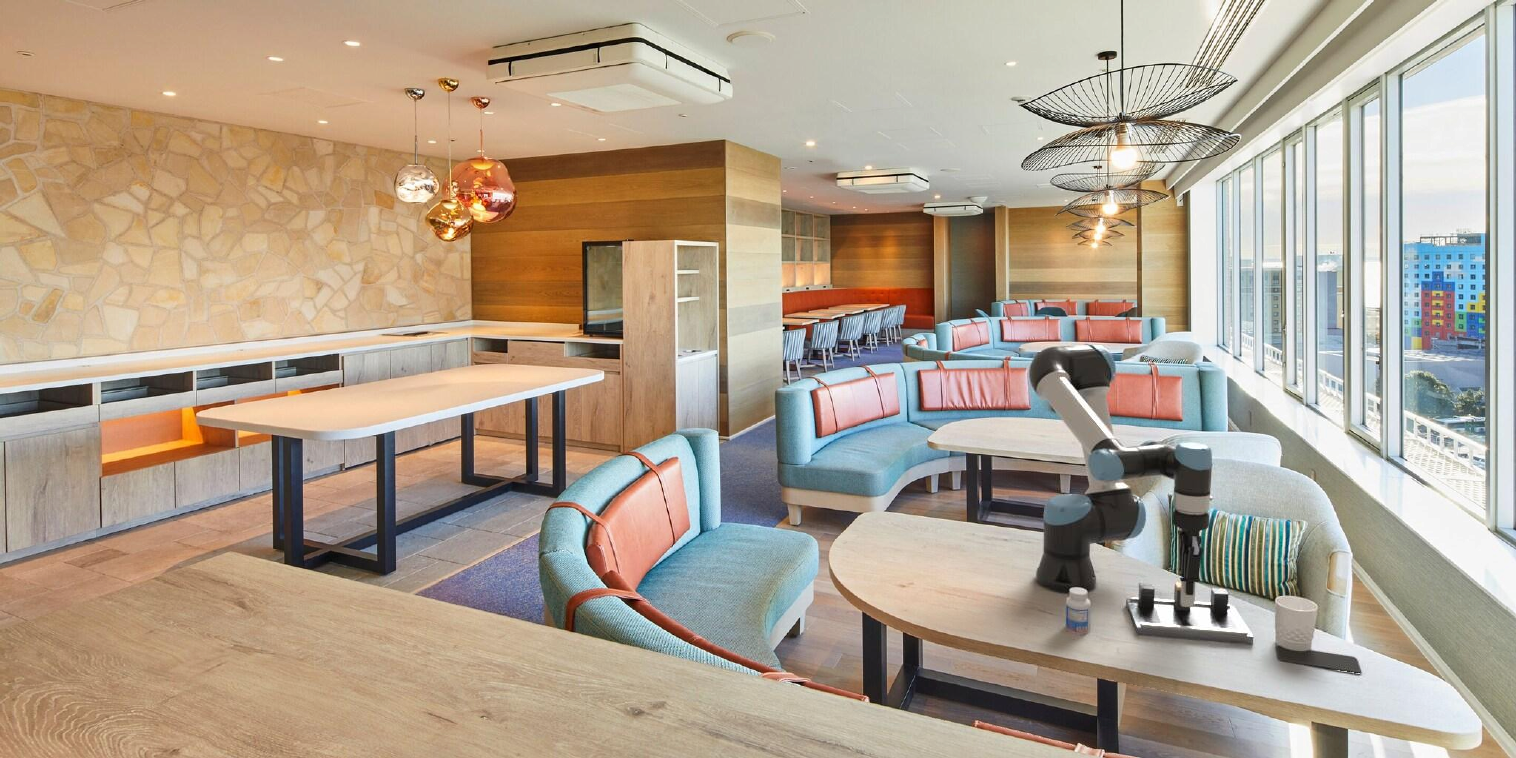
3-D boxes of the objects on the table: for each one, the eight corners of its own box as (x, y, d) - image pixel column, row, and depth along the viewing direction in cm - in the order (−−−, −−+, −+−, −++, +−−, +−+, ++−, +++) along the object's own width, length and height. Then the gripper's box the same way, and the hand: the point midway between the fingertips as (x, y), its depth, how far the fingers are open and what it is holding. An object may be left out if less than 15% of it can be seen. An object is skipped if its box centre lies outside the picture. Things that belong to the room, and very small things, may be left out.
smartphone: (1274, 644, 184) (1356, 656, 177) (1274, 647, 184) (1356, 660, 177) (1277, 659, 178) (1362, 672, 170) (1277, 663, 178) (1362, 676, 171)
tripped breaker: (1176, 609, 198) (1177, 587, 197) (1173, 604, 201) (1174, 582, 200) (1190, 610, 198) (1191, 588, 197) (1187, 605, 200) (1188, 583, 199)
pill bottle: (1071, 621, 199) (1072, 583, 197) (1093, 628, 195) (1095, 589, 194) (1061, 629, 195) (1062, 591, 194) (1083, 636, 191) (1084, 597, 190)
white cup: (1320, 655, 179) (1324, 612, 178) (1280, 652, 181) (1283, 610, 179) (1305, 638, 187) (1308, 596, 185) (1266, 635, 188) (1269, 594, 187)
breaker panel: (1136, 635, 191) (1137, 607, 190) (1125, 605, 206) (1126, 579, 205) (1252, 644, 185) (1254, 615, 183) (1232, 613, 200) (1234, 586, 199)
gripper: (1216, 519, 184) (1212, 618, 188) (1201, 501, 196) (1197, 595, 200) (1180, 518, 186) (1176, 616, 190) (1167, 500, 198) (1164, 593, 202)
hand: (1187, 605), depth 195 cm, fingers closed
